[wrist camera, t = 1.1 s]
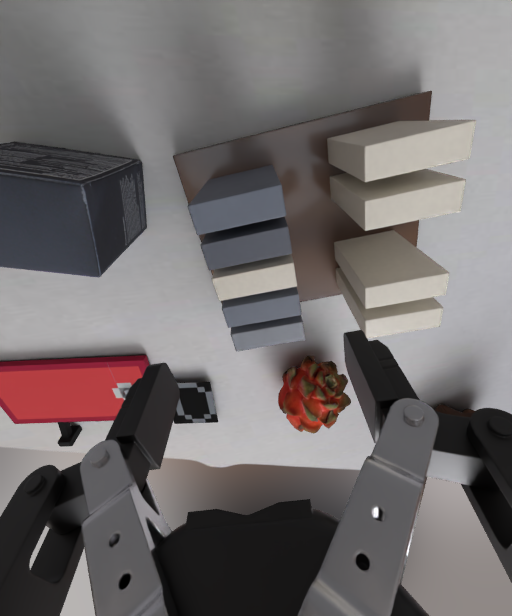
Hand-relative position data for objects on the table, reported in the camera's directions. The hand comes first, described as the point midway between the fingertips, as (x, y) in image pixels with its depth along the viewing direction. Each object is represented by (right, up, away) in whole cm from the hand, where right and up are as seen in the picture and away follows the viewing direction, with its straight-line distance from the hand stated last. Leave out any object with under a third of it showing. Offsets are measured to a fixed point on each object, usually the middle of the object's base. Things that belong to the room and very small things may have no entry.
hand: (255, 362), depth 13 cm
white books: (+10, +11, +13) cm, 19 cm away
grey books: (0, +9, +14) cm, 17 cm away
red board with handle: (-21, -10, +28) cm, 36 cm away
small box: (-15, +13, +13) cm, 24 cm away
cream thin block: (0, +9, +14) cm, 17 cm away
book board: (+5, +11, +15) cm, 19 cm away
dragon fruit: (+7, -7, +26) cm, 28 cm away
